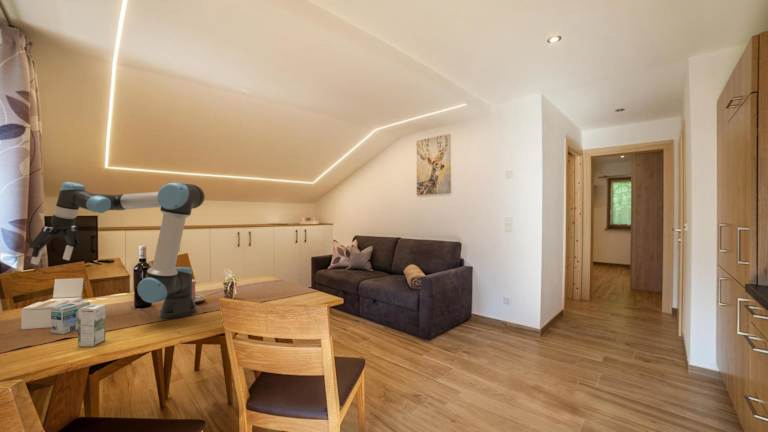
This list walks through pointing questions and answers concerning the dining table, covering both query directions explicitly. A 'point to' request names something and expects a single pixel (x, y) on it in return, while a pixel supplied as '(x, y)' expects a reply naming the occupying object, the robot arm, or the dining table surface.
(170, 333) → the dining table surface
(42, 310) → the carton
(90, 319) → the syrup box
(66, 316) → the light bulb box
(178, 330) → the dining table surface
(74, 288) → the flap
